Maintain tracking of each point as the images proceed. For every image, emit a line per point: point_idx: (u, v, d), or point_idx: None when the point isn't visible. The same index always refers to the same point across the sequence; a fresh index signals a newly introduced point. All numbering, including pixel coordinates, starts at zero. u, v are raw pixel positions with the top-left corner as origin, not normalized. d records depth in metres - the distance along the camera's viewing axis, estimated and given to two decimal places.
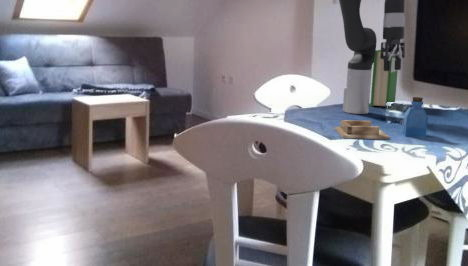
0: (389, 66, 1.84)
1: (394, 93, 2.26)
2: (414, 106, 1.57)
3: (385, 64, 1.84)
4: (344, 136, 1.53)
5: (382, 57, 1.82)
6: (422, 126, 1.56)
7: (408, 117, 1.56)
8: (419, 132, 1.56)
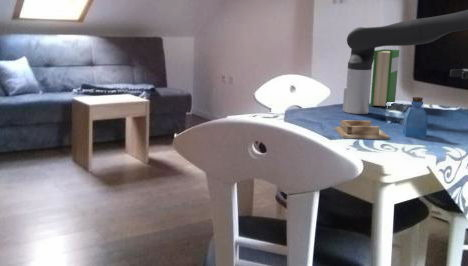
0: None
1: (394, 93, 2.26)
2: (414, 106, 1.57)
3: None
4: (344, 136, 1.53)
5: None
6: (422, 126, 1.56)
7: (408, 117, 1.56)
8: (419, 132, 1.56)
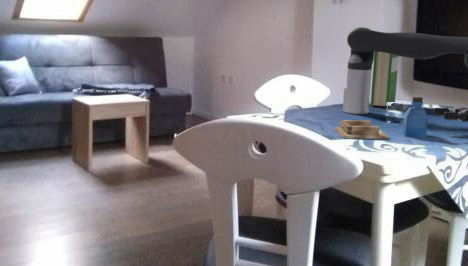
0: (449, 119, 1.54)
1: (394, 93, 2.26)
2: (414, 106, 1.57)
3: (453, 116, 1.53)
4: (344, 136, 1.53)
5: (464, 116, 1.51)
6: (422, 126, 1.56)
7: (408, 117, 1.56)
8: (419, 132, 1.56)
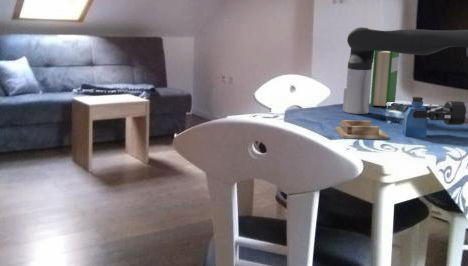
0: (418, 117, 1.55)
1: (394, 93, 2.26)
2: (414, 106, 1.57)
3: (422, 114, 1.54)
4: (344, 136, 1.53)
5: (432, 114, 1.52)
6: (422, 126, 1.56)
7: (408, 117, 1.56)
8: (419, 132, 1.56)
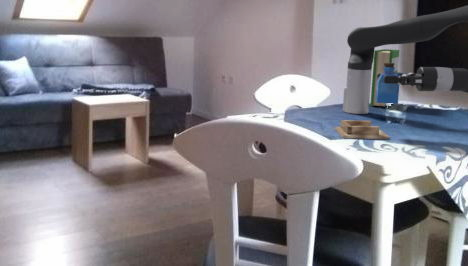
0: None
1: None
2: (386, 72, 1.55)
3: (393, 80, 1.52)
4: (344, 136, 1.53)
5: (403, 79, 1.50)
6: (393, 91, 1.54)
7: (379, 83, 1.54)
8: (391, 98, 1.54)
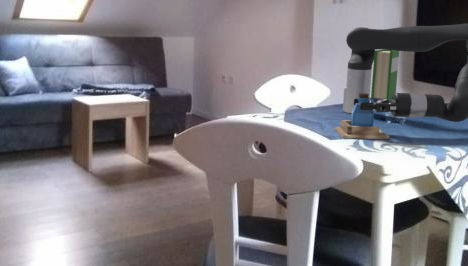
0: (365, 109, 1.54)
1: None
2: (360, 102, 1.57)
3: (368, 106, 1.53)
4: (344, 136, 1.53)
5: (378, 106, 1.51)
6: (368, 122, 1.56)
7: (354, 113, 1.56)
8: None
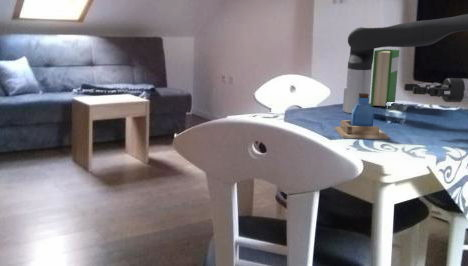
0: None
1: (394, 93, 2.26)
2: (360, 102, 1.57)
3: (422, 91, 1.53)
4: (344, 136, 1.53)
5: (433, 90, 1.51)
6: (368, 122, 1.56)
7: (354, 113, 1.56)
8: None
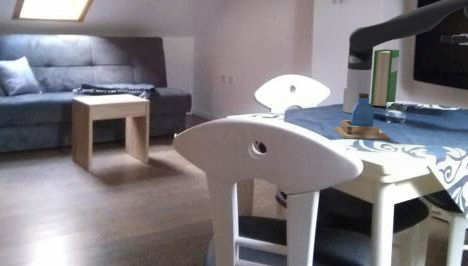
0: None
1: (394, 93, 2.26)
2: (360, 102, 1.57)
3: (461, 39, 1.54)
4: (344, 136, 1.53)
5: None
6: (368, 122, 1.56)
7: (354, 113, 1.56)
8: None
